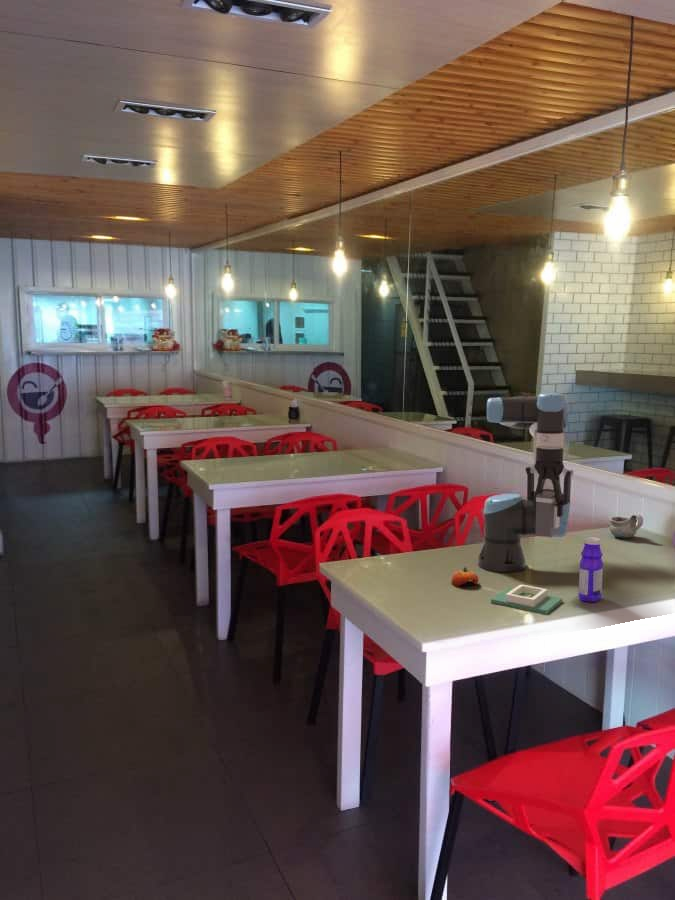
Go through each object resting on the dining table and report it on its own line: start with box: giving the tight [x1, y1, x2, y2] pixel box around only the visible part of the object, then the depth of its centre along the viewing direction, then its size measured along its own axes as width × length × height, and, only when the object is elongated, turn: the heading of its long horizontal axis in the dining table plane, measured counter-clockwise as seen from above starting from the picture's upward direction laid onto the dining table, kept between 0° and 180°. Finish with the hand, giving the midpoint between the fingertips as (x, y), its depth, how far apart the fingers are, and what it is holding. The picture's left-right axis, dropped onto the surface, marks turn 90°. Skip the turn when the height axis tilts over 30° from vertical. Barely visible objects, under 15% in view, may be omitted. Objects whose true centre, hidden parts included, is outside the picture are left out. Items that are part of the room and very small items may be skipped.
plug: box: [535, 491, 559, 538], centre depth 212 cm, size 5×8×12 cm, turn 144°
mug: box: [609, 513, 644, 539], centre depth 270 cm, size 10×12×10 cm
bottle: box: [578, 536, 604, 603], centre depth 203 cm, size 7×6×17 cm
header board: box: [490, 584, 563, 615], centre depth 202 cm, size 16×12×3 cm
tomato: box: [450, 566, 480, 588], centre depth 218 cm, size 8×7×7 cm
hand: (547, 526), depth 212 cm, fingers closed on plug, 4 cm apart
